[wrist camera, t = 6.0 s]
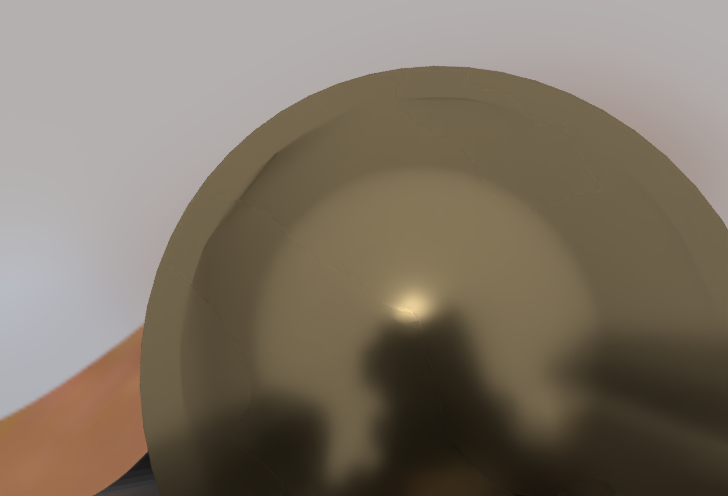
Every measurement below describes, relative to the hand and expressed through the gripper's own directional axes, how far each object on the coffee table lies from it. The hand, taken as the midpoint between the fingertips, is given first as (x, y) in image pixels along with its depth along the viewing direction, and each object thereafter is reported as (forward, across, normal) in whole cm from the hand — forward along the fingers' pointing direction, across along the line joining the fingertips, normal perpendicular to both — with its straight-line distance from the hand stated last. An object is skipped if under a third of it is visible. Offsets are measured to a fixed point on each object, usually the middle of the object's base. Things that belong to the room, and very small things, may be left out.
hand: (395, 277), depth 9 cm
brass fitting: (+4, 0, +6) cm, 7 cm away
